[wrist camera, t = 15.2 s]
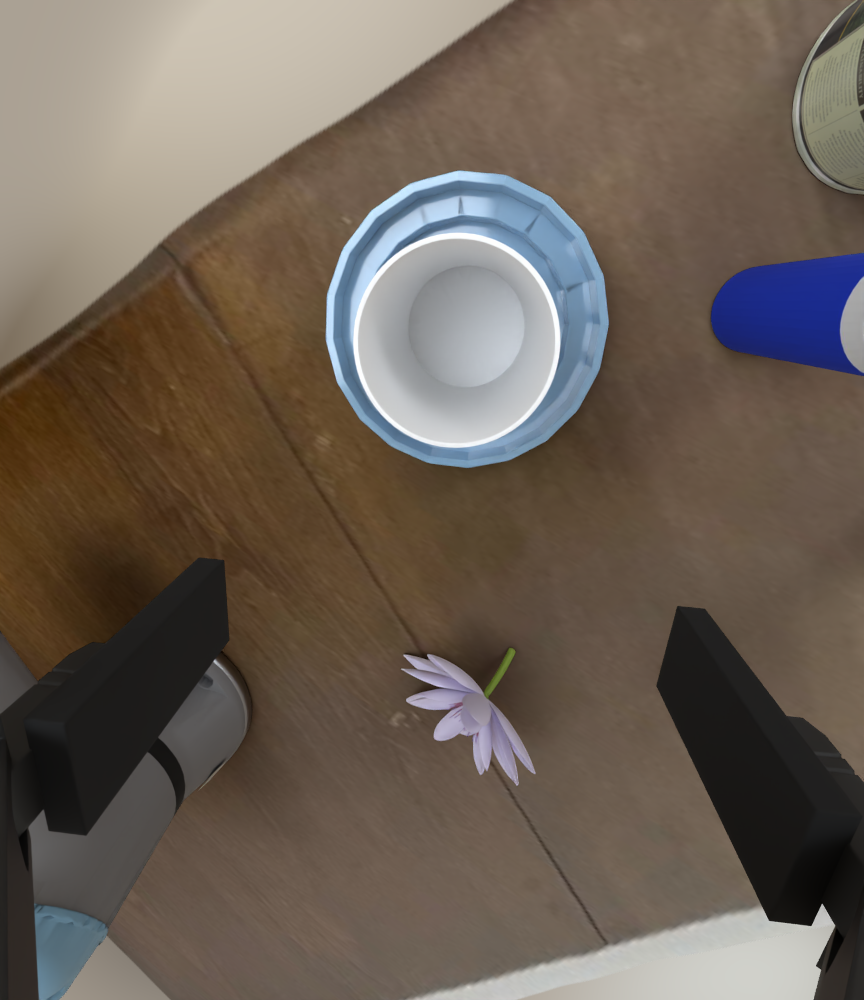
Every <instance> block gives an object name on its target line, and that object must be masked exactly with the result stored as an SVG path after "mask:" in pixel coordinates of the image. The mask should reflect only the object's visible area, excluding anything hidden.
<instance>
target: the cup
mask: <svg viewBox="0 0 864 1000" xmlns="http://www.w3.org/2000/svg"><path fill="white" fill-rule="evenodd" d="M353 347H354V357H355V363H356V368H357V372H358V375H359V378H360V381H361V383H362V385H363V388H364V390H365V392H366V394H367V395H368V397H369V399H370V400H371V402H372V403H373V405H374V406H375V408H376V409H377V410H378V411H379V412H380V414H381V415H382V416H383V417H384V418H385V419H386V420H387V421H388V422H389V423H391V424H392V425H393V426H394V427H395V428H397V429H398V430H400V431H401V432H403V433H404V434H406V435H408V436H410V437H412V438H414V439H416V440H419V441H421V442H424V443H427V444H430V445H435V446H440V447H448V448H463V447H471V446H477V445H481V444H485V443H488V442H491V441H493V440H496V439H498V438H500V437H502V436H504V435H506V434H507V433H509V432H511V431H512V430H514V429H515V428H516V427H518V426H519V425H520V424H522V423H523V422H524V421H525V420H526V419H527V418H528V417H529V416H530V415H531V414H532V413H533V412H534V411H535V409H536V408H537V407H538V405H539V404H540V403H541V401H542V400H543V398H544V397H545V395H546V393H547V391H548V389H549V387H550V385H551V383H552V380H553V378H554V375H555V372H556V368H557V365H558V359H559V353H560V326H559V319H558V315H557V310H556V307H555V304H554V301H553V298H552V296H551V294H550V291H549V289H548V288H547V286H546V284H545V282H544V280H543V279H542V278H541V276H540V275H539V273H538V272H537V271H536V270H535V268H534V267H533V266H532V265H531V264H530V263H529V262H528V261H527V260H526V259H525V258H524V257H523V256H521V255H520V254H519V253H517V252H516V251H515V250H513V249H512V248H510V247H508V246H507V245H505V244H503V243H501V242H499V241H496V240H494V239H491V238H488V237H485V236H481V235H476V234H469V233H447V234H440V235H435V236H431V237H428V238H425V239H422V240H419V241H417V242H415V243H413V244H411V245H409V246H407V247H406V248H404V249H402V250H401V251H399V252H398V253H397V254H395V255H394V256H393V257H392V258H390V259H389V260H388V261H387V262H386V263H385V264H384V265H383V266H382V267H381V269H380V270H379V271H378V272H377V273H376V275H375V276H374V277H373V279H372V280H371V282H370V283H369V285H368V287H367V289H366V290H365V293H364V295H363V297H362V299H361V302H360V305H359V308H358V311H357V315H356V319H355V325H354V336H353Z"/></svg>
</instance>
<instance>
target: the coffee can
mask: <svg viewBox="0 0 864 1000" xmlns="http://www.w3.org/2000/svg"><path fill="white" fill-rule="evenodd" d="M792 124H793V132H794V138H795V142H796V146H797V150H798V152H799V154H800V156H801V158H802V159H803V161H804V162H805V164H806V166H807V167H808V169H809V170H810V171H811V172H812V173H813V174H814V175H815V176H816V177H817V178H818V179H819V180H821V181H822V182H824V183H825V184H827V185H828V186H830V187H832V188H835V189H838V190H841V191H843V192H846V193H855V194H864V0H855V1H854V2H852V3H851V4H850V5H849V6H847V7H846V8H845V9H844V10H843V11H842V12H841V13H840V14H839V15H838V16H837V17H835V19H834V20H833V21H832V22H831V23H830V24H829V26H828V27H827V28H826V29H825V31H824V32H823V33H822V34H821V36H820V37H819V39H818V40H817V42H816V43H815V45H814V47H813V48H812V50H811V52H810V54H809V55H808V57H807V59H806V61H805V63H804V66H803V68H802V70H801V73H800V75H799V78H798V82H797V86H796V90H795V95H794V101H793V110H792Z"/></svg>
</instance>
